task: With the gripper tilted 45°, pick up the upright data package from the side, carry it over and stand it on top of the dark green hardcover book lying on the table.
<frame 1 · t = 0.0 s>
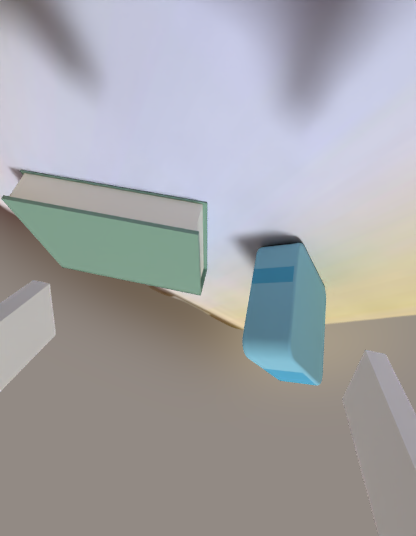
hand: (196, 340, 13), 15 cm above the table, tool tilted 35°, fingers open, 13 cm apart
green book: (128, 225, 36), on the table
data package: (295, 266, 36), on the table
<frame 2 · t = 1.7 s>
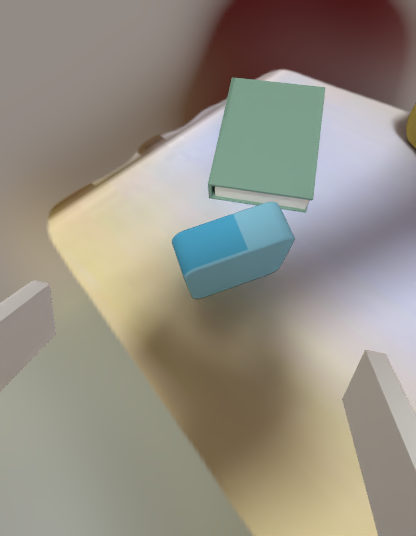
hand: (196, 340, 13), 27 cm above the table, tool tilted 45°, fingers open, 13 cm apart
green book: (265, 151, 48), on the table
data package: (230, 271, 42), on the table
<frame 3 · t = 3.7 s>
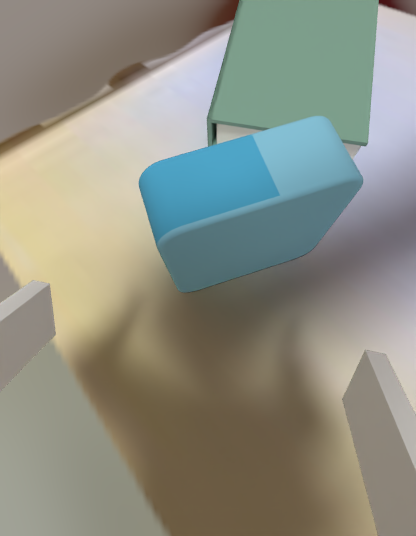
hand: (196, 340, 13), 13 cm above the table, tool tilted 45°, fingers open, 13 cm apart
green book: (290, 88, 34), on the table
data package: (237, 253, 28), on the table
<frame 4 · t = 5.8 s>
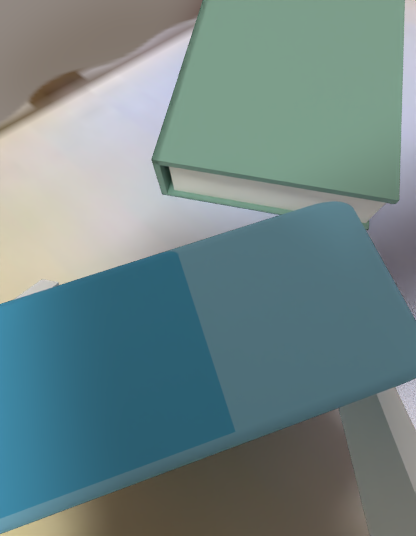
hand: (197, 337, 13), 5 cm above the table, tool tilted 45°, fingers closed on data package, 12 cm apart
green book: (280, 106, 24), on the table
data package: (199, 363, 18), on the table, touching gripper
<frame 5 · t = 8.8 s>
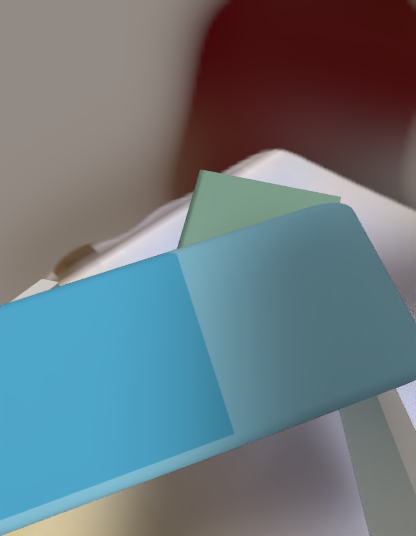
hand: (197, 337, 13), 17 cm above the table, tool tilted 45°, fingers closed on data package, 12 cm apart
green book: (245, 284, 32), on the table
data package: (199, 364, 18), point 11 cm above the table, touching gripper
when the fingers open (11 cm above the table, at t = 11.6 s): data package drops 2 cm, point 3 cm above the table.
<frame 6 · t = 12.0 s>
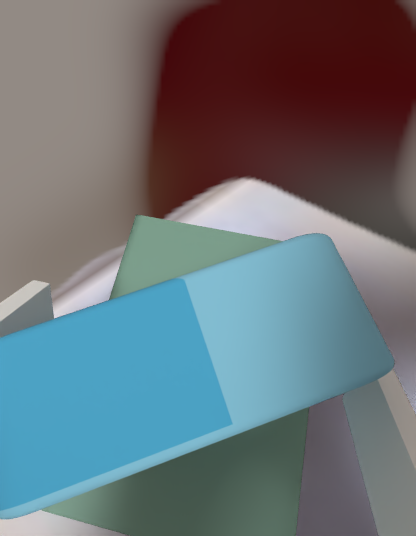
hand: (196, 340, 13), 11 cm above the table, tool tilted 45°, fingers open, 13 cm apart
green book: (202, 366, 24), on the table
data package: (201, 366, 20), point 3 cm above the table
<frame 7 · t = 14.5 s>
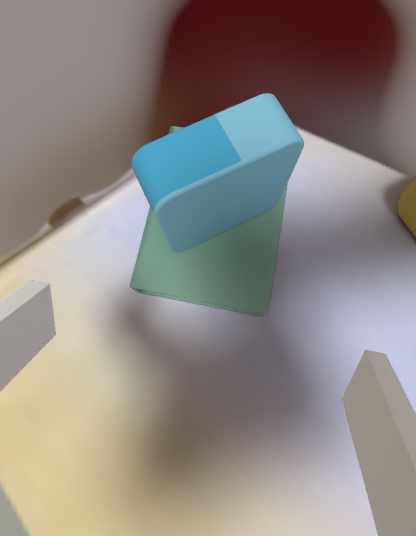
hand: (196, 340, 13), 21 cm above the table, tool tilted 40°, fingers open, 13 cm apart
green book: (215, 225, 37), on the table, touching data package
data package: (217, 214, 33), point 3 cm above the table, touching green book
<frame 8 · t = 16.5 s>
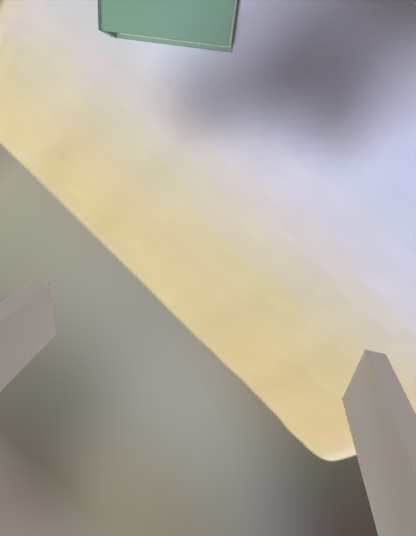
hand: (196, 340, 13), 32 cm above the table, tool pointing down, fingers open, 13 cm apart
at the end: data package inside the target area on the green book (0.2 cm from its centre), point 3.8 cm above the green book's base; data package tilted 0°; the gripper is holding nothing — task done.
